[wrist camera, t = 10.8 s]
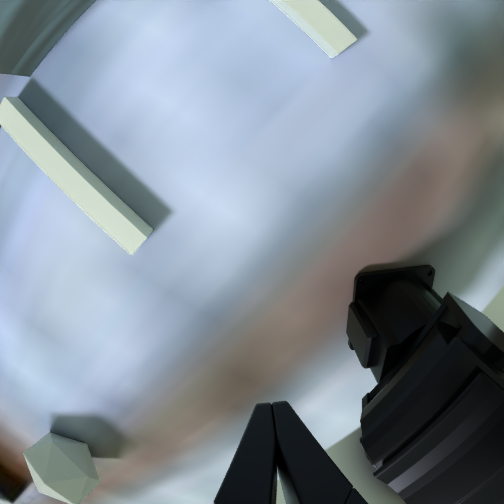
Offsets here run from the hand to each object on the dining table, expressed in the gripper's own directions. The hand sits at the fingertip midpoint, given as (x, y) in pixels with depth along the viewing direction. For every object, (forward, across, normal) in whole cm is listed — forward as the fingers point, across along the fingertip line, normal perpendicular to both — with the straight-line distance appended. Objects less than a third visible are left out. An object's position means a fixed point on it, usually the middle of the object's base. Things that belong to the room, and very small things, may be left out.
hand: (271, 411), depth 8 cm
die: (+13, +24, +24) cm, 36 cm away
